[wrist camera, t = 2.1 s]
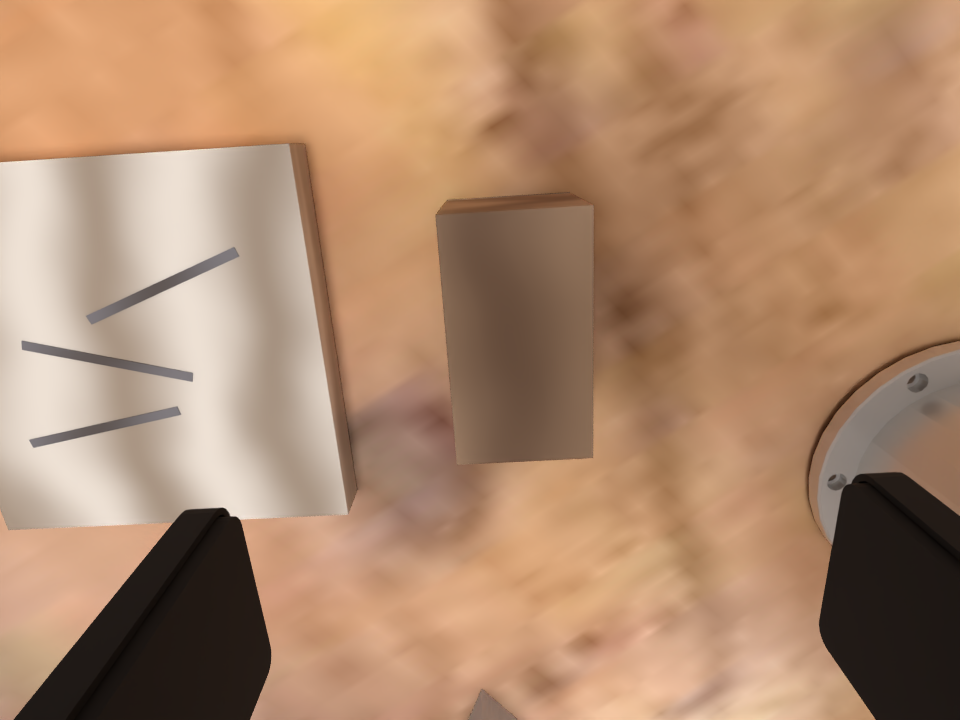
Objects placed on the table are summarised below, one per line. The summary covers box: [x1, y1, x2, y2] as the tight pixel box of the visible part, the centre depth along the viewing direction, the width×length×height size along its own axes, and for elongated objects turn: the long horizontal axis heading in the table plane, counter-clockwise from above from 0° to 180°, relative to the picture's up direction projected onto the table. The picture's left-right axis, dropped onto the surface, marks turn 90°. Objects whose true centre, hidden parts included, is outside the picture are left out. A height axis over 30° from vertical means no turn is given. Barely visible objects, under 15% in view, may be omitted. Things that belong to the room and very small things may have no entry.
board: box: [0, 144, 357, 530], centre depth 25 cm, size 16×16×2 cm
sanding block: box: [436, 192, 594, 465], centre depth 23 cm, size 5×9×6 cm, turn 4°
